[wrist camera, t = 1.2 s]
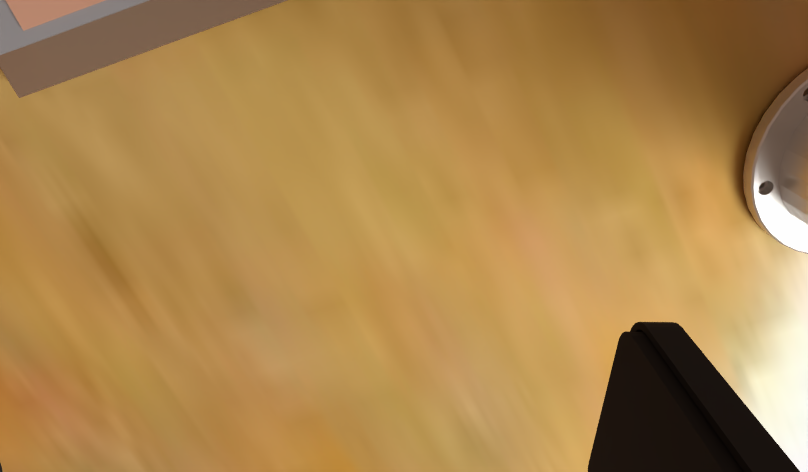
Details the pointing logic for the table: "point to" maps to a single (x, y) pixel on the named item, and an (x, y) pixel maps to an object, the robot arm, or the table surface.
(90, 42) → the plinth
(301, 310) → the table surface
